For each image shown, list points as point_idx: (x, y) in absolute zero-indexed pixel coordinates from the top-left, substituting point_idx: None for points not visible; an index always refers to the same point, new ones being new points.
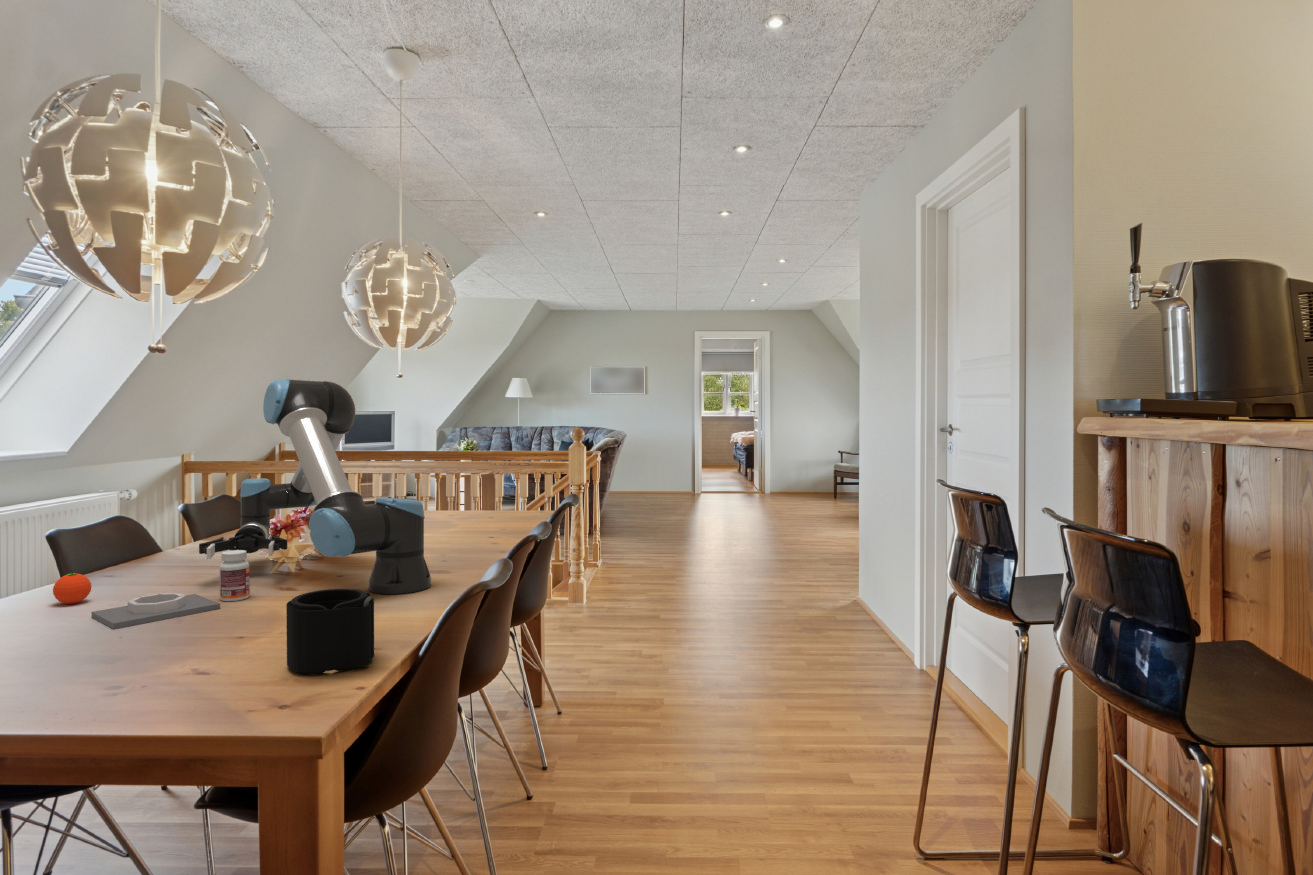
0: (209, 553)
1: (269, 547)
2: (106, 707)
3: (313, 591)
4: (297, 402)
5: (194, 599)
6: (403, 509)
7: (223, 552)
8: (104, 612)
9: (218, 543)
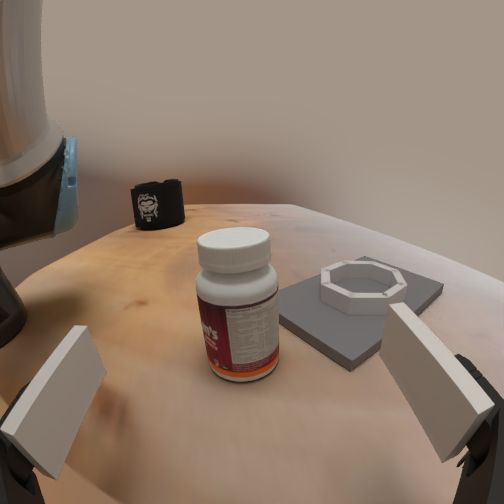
0: (387, 330)
1: (87, 336)
2: (266, 209)
3: (161, 183)
4: None
5: (323, 323)
6: None
7: (265, 234)
8: (422, 281)
9: (489, 476)
